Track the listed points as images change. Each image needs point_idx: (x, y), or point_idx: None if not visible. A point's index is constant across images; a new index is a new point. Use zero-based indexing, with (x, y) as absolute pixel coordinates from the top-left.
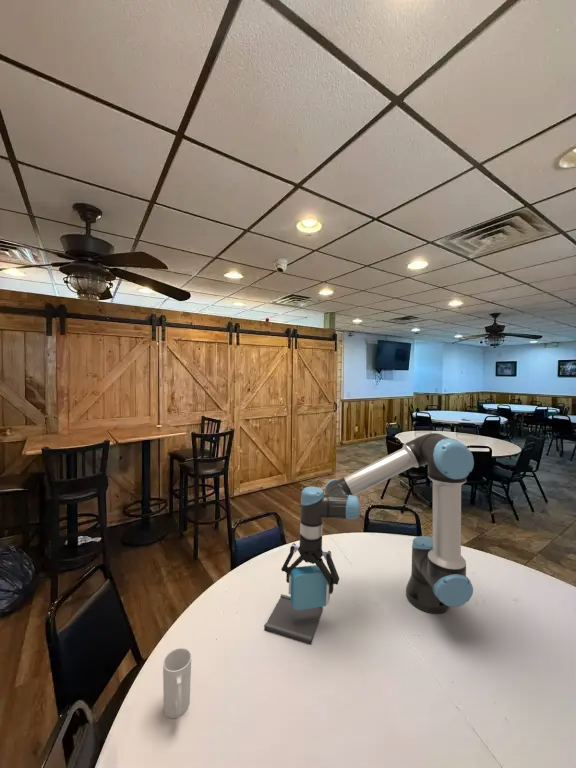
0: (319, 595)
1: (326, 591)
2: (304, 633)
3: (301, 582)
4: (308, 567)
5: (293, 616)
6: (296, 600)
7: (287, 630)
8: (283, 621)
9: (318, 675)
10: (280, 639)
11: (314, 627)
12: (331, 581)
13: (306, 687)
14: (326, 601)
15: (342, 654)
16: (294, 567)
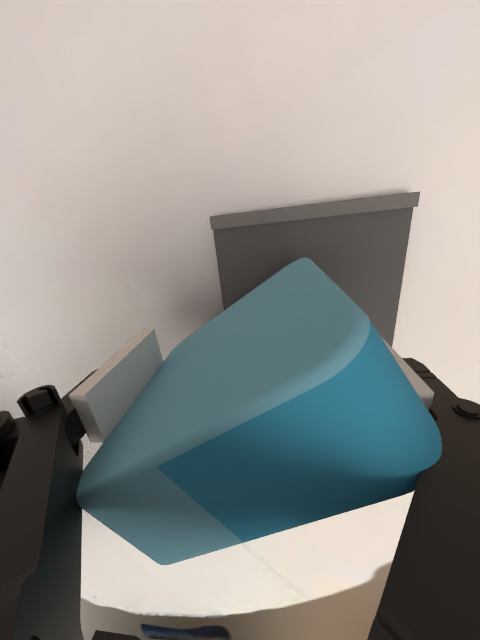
0: (185, 352)
1: (116, 364)
2: (246, 240)
3: (275, 338)
4: (250, 519)
5: None
6: (296, 271)
7: (309, 213)
8: (341, 258)
9: (140, 99)
10: (326, 184)
11: (224, 281)
12: (23, 423)
13: (152, 12)
14: (145, 334)
15: (115, 231)
16: (430, 487)
